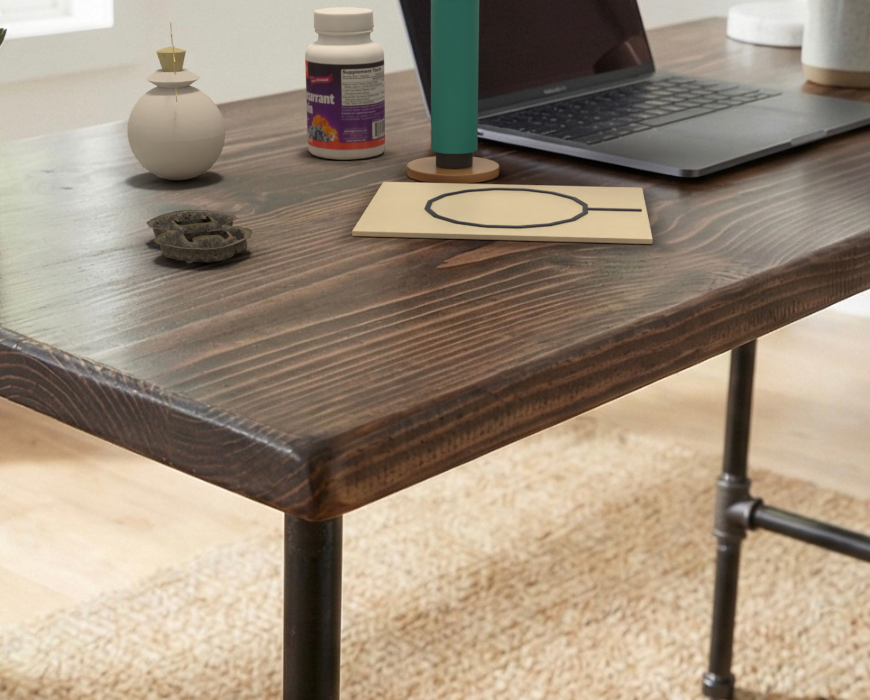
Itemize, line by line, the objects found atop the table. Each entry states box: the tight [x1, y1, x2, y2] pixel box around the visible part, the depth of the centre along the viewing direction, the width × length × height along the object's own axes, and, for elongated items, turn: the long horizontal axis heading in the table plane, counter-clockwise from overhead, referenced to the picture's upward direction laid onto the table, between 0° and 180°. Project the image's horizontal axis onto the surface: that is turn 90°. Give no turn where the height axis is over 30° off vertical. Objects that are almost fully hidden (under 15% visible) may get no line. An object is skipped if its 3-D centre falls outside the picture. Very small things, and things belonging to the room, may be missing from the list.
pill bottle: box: [304, 6, 386, 161], centre depth 89 cm, size 5×5×10 cm
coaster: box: [406, 155, 500, 184], centre depth 84 cm, size 6×6×1 cm
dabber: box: [430, 0, 480, 169], centre depth 82 cm, size 3×3×13 cm
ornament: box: [127, 21, 226, 181], centre depth 81 cm, size 6×8×10 cm
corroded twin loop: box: [146, 209, 253, 263], centre depth 67 cm, size 5×8×1 cm, turn 21°
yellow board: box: [351, 181, 654, 245], centre depth 75 cm, size 16×12×1 cm
